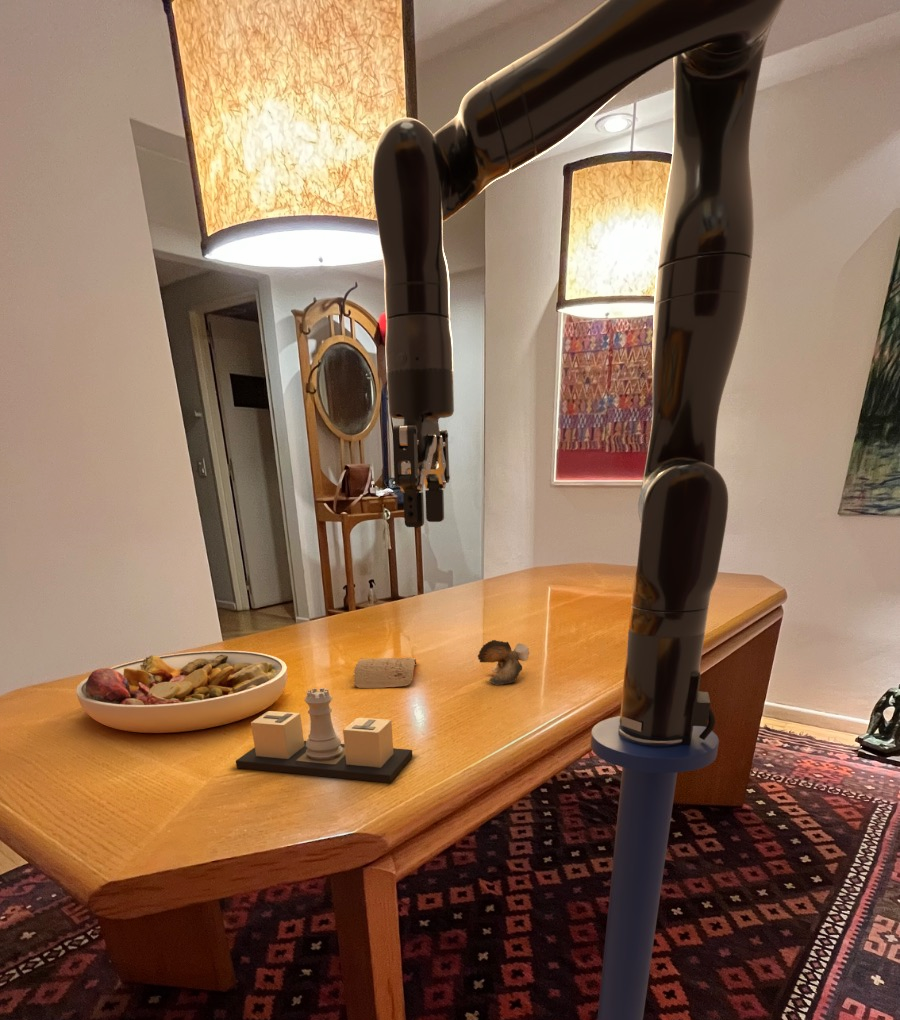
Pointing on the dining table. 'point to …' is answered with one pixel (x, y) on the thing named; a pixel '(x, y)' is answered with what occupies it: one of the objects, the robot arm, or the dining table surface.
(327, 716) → the rook chess piece
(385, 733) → the tile
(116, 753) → the dining table surface
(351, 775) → the word mat
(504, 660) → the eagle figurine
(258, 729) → the tile
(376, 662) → the clay tablet
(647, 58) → the robot arm
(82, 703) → the bowl
